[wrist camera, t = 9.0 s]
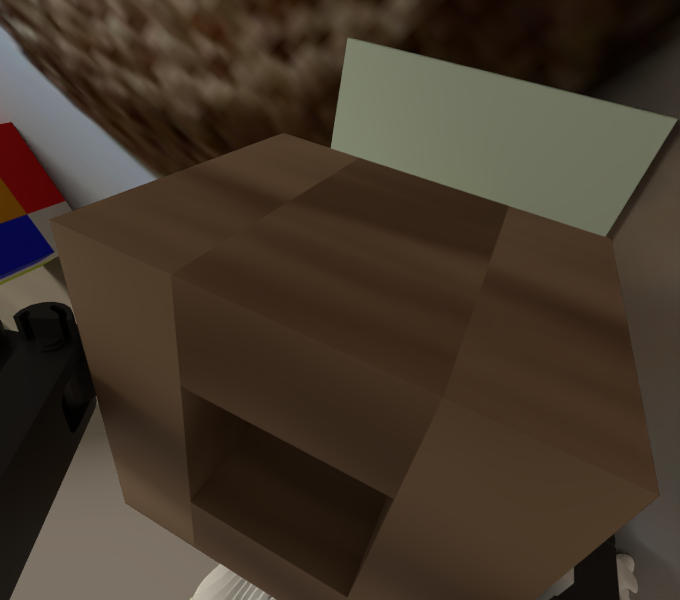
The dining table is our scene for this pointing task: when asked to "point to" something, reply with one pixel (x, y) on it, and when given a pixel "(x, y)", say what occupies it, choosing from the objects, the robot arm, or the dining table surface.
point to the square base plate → (495, 134)
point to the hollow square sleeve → (359, 376)
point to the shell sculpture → (228, 587)
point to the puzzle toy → (25, 208)
